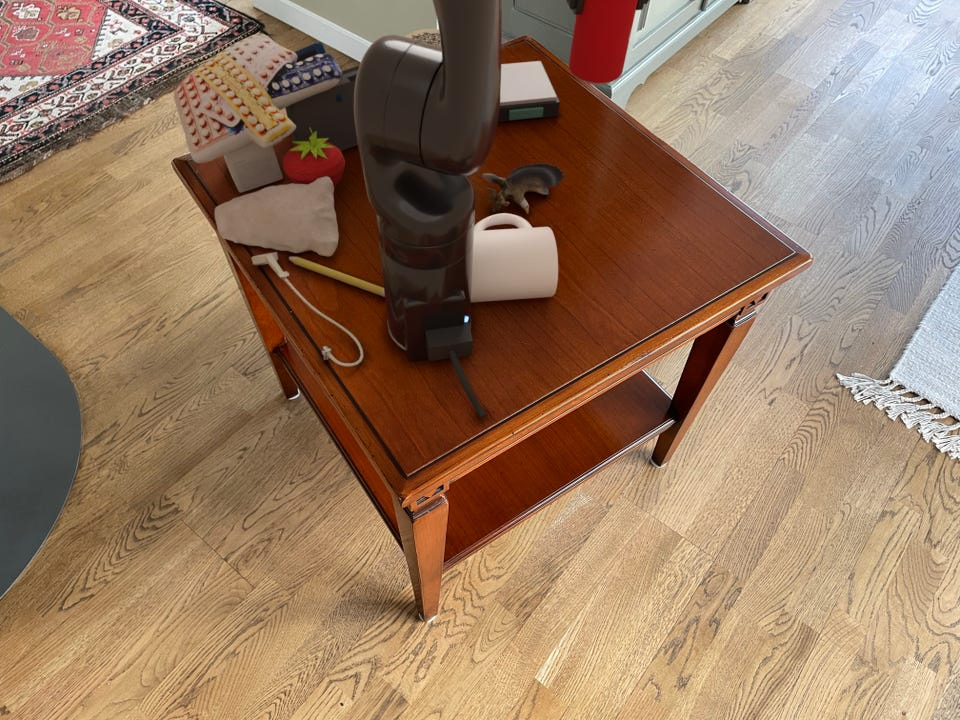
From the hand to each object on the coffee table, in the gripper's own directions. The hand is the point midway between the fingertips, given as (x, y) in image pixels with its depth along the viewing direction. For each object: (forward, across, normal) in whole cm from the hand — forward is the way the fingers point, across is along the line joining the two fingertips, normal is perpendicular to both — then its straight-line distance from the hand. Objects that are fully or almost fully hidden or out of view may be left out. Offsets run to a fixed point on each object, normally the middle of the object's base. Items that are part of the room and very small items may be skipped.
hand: (606, 8), depth 75 cm
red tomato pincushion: (+24, -34, +2) cm, 41 cm away
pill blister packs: (+13, -35, +2) cm, 38 cm away
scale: (+24, -4, +19) cm, 31 cm away
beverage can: (+8, 0, 0) cm, 8 cm away
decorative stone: (+21, -31, -5) cm, 38 cm away
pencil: (+24, -33, -12) cm, 42 cm away
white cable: (+23, -33, -26) cm, 48 cm away
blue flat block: (+17, -32, +18) cm, 40 cm away
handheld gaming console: (+24, -26, +14) cm, 38 cm away
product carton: (+24, -42, +8) cm, 49 cm away
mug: (+24, -13, -15) cm, 31 cm away
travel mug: (+24, -18, +5) cm, 31 cm away
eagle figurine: (+24, -8, -3) cm, 26 cm away
